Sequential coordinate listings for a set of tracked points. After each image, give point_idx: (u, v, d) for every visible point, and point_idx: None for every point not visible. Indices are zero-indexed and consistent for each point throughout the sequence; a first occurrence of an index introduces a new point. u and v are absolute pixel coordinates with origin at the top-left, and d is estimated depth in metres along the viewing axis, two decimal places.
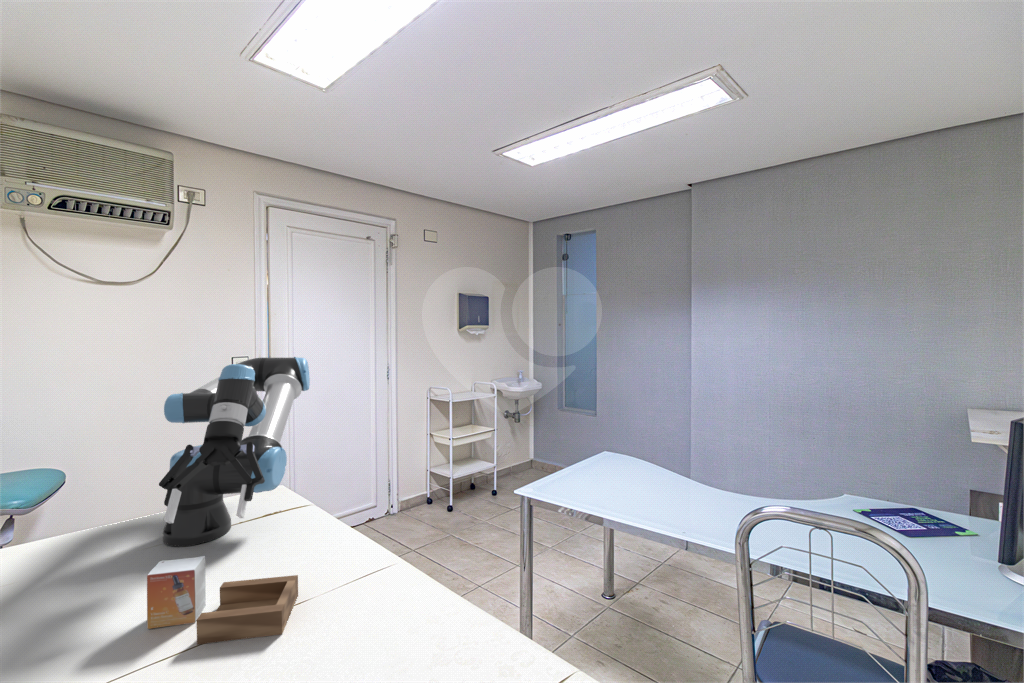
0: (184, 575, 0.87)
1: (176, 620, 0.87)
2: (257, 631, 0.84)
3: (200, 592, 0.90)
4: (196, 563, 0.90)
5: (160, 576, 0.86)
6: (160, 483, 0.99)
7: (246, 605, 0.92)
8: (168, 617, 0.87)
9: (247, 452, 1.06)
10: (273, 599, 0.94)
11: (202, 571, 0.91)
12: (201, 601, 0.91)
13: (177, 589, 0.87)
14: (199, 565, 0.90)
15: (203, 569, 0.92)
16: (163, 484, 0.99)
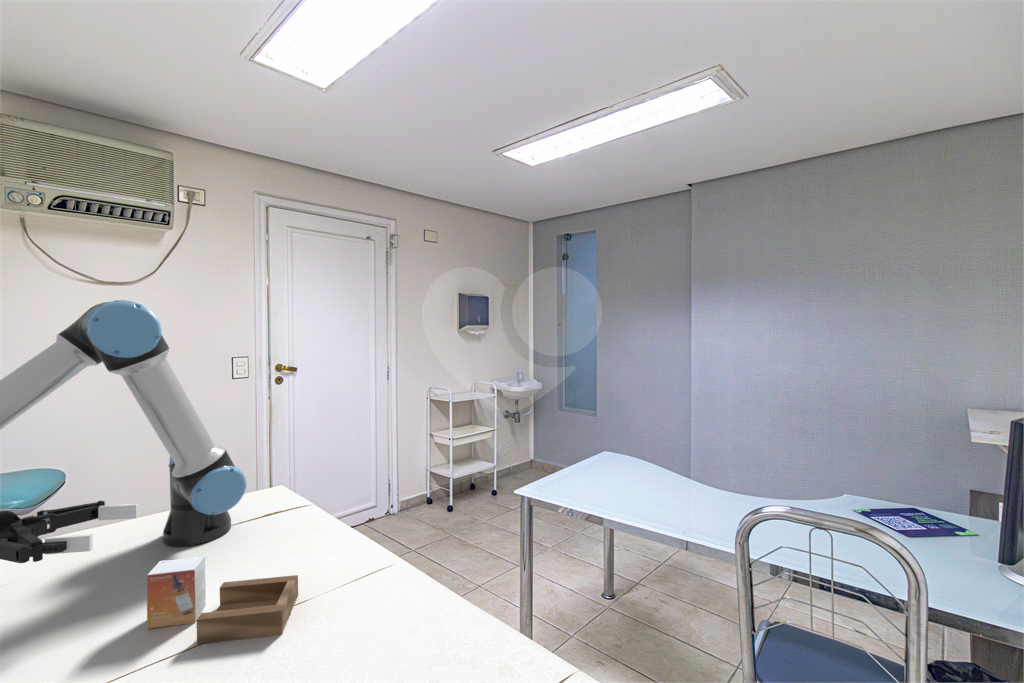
0: (184, 575, 0.87)
1: (176, 620, 0.87)
2: (257, 631, 0.84)
3: (200, 592, 0.91)
4: (196, 563, 0.90)
5: (160, 576, 0.86)
6: None
7: (246, 605, 0.92)
8: (168, 617, 0.87)
9: None
10: (273, 599, 0.94)
11: (202, 571, 0.91)
12: (201, 601, 0.91)
13: (177, 589, 0.87)
14: (199, 565, 0.90)
15: (203, 569, 0.92)
16: None
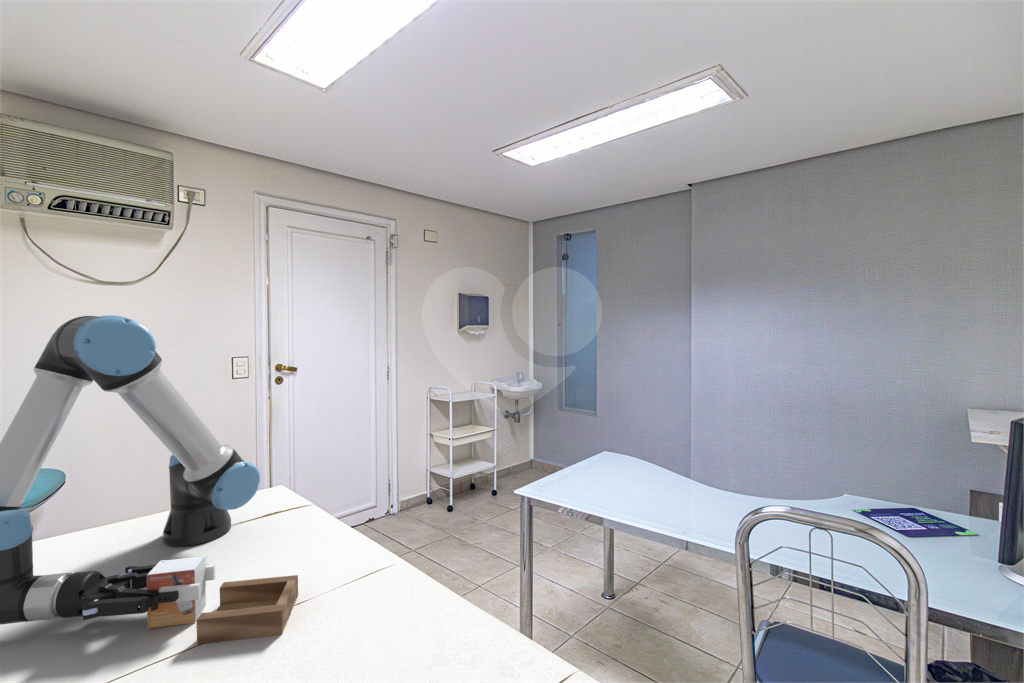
0: (184, 574, 0.87)
1: (176, 619, 0.87)
2: (257, 631, 0.84)
3: None
4: (196, 563, 0.90)
5: (159, 576, 0.86)
6: None
7: (246, 605, 0.92)
8: (168, 616, 0.87)
9: None
10: (273, 599, 0.94)
11: (202, 571, 0.91)
12: (202, 601, 0.91)
13: None
14: (199, 565, 0.90)
15: (203, 569, 0.92)
16: None
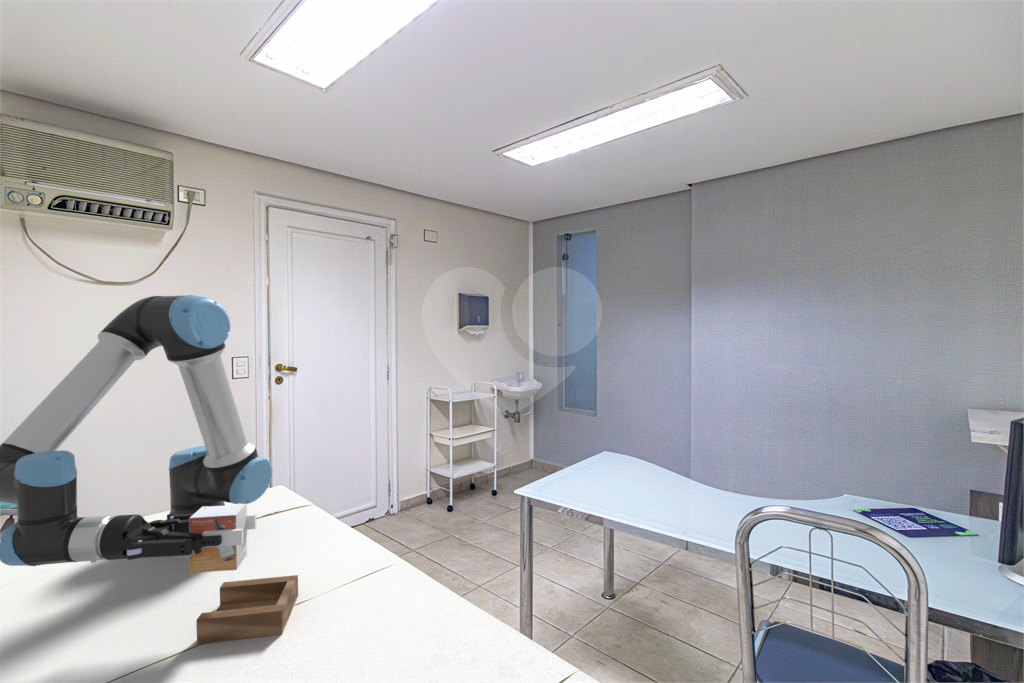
0: (225, 520, 0.85)
1: (218, 566, 0.85)
2: (257, 631, 0.84)
3: None
4: (237, 509, 0.87)
5: (201, 520, 0.84)
6: None
7: (246, 605, 0.92)
8: (210, 562, 0.85)
9: None
10: (273, 599, 0.94)
11: (244, 518, 0.89)
12: (243, 549, 0.89)
13: None
14: (241, 512, 0.88)
15: (244, 517, 0.89)
16: None
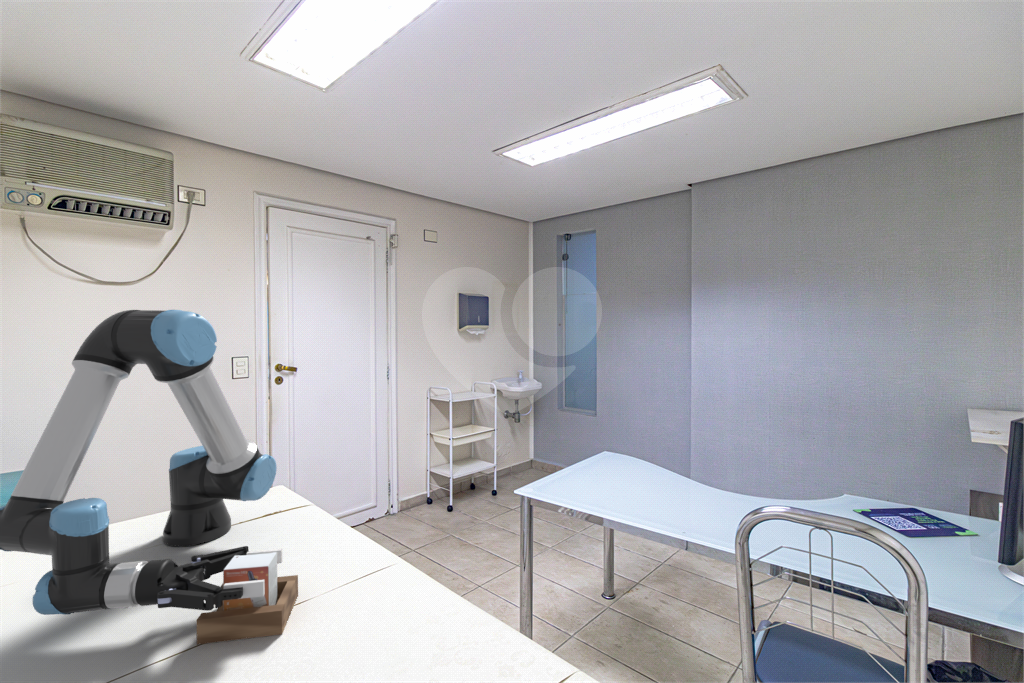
0: (258, 571, 0.87)
1: None
2: (257, 631, 0.84)
3: (273, 589, 0.90)
4: (269, 559, 0.90)
5: (235, 571, 0.86)
6: None
7: None
8: None
9: None
10: None
11: (275, 567, 0.91)
12: (274, 598, 0.91)
13: None
14: (272, 561, 0.90)
15: (275, 565, 0.91)
16: None
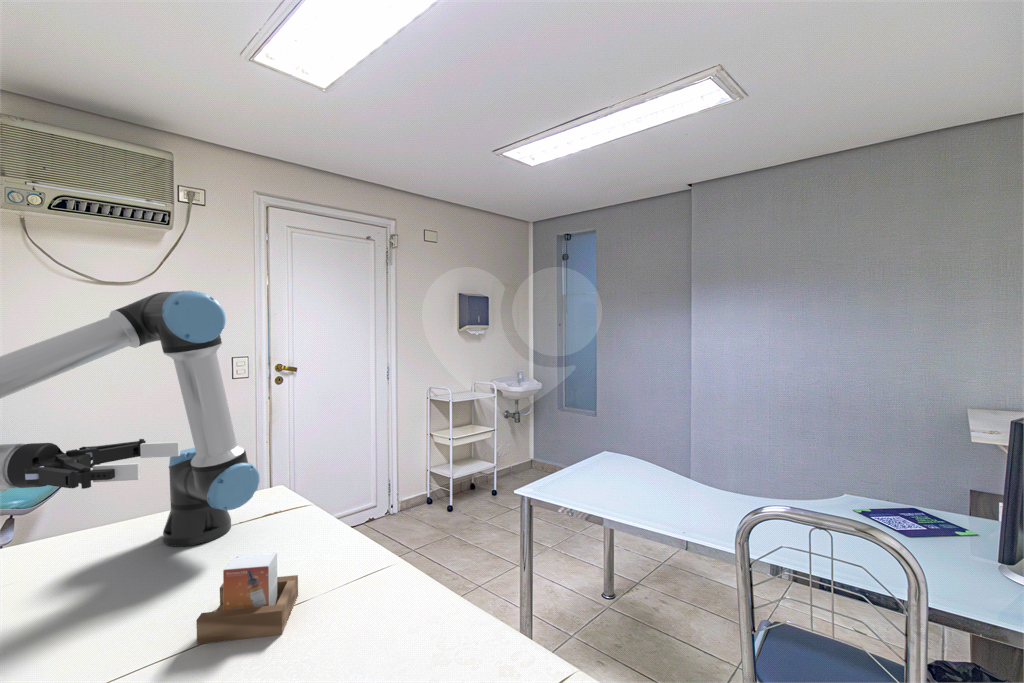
0: (258, 571, 0.87)
1: None
2: (257, 631, 0.84)
3: (273, 589, 0.90)
4: (269, 559, 0.90)
5: (235, 571, 0.86)
6: None
7: None
8: None
9: None
10: None
11: (275, 567, 0.91)
12: (274, 598, 0.91)
13: (252, 585, 0.87)
14: (272, 561, 0.90)
15: (275, 565, 0.91)
16: None
